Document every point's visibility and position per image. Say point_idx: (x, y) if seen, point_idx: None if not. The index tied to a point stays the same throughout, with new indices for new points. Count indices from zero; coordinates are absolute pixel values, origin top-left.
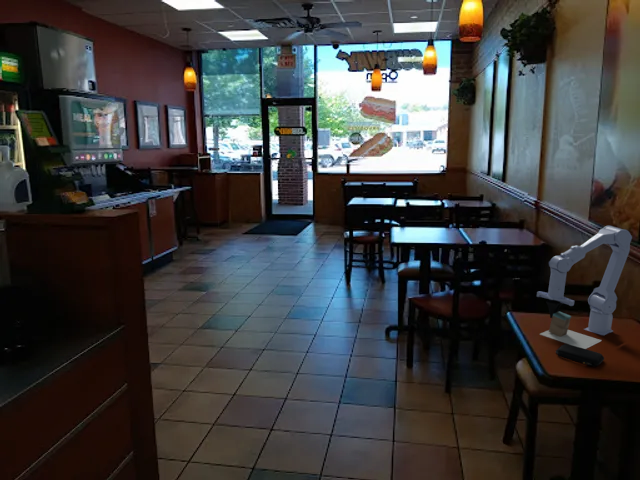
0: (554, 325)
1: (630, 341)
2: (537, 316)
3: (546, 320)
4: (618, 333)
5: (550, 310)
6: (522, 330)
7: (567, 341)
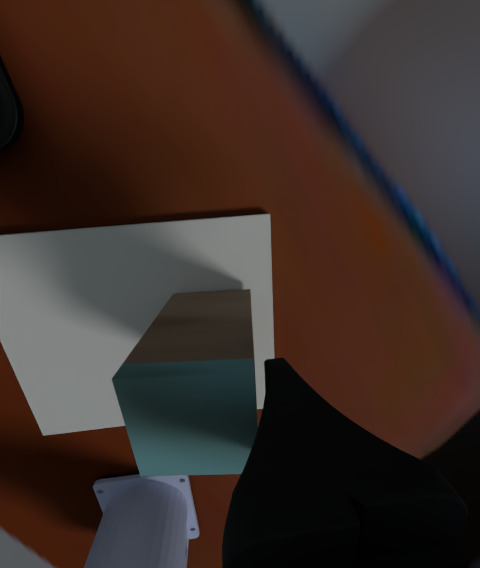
0: (218, 315)
1: (12, 522)
2: (403, 434)
3: None
4: None
5: (307, 402)
6: (374, 195)
7: (101, 263)
